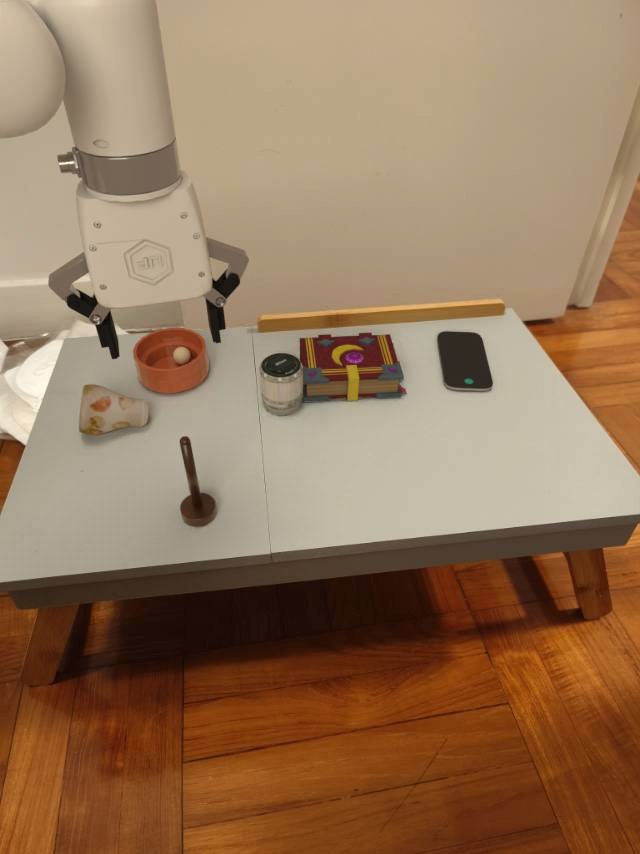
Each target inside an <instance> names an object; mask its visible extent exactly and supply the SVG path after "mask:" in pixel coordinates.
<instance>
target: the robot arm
mask: <svg viewBox="0 0 640 854" xmlns="http://www.w3.org/2000/svg"><path fill="white" fill-rule="evenodd" d="M163 46H164V45H163V39H162V32H161V25H160V19H159V10H158V6H157V1H156V0H0V139H10V138H16V137H17V138H18V137H23V136H26V135H28V134H32V133H34V132H36V131H38V130H40V129H42V127H44V126H46V125H47V124H48V123H49V122H50V121H51V120H52V119H53V118H54V117H55V116H56V114H57V112H58V110H59V108H60V107H61V105H62V103H63V104H64V110H65V113H66V117H67V121H68V125H69V130H70V132H71V136H72V140H73V144H74V146H72V147H71V151H67V152H66V153H61V154H57V155H56V158H57V163H58V167H59V170H60V173H61V174H68V173H69V174H70V173H71V174H72V175H77V178H78V179H81V180H80V181H79V182H78V184H77V186H76V190H75V200H76V212H77V220H78V228H79V233H80V238H81V242H82V243H81V244H82V247H83V252H81V253H80V254H78V255H77V256H75V257H74V258H72V259H70V260H69V261H67V262H66V263H65V264H63V265H62V266H60V267H58V268H57V269H55V270H54V271H53V272H51V273H50V274H49V275H48V282H47V285H48V287H49V288H50V290H51V291H53V293H55V295H56V296H58V297H59V298H60V299H61V300H62V301H64V302H65V304H66V306H67V307H68V308H69V309H71V310H72V311H74V312H76V313H78V314H80V315H81V316H83V317H85V318H87V319H88V320H89V322H90V323H91V324H92V325H94V326H95V329H96V333H97V336H98V340H99V343H100V346H101V349H106V348H108V351H109V354H110V358H111V360H117V359H119V358H120V357H121V356H120V345H119V344H120V343H119V337H118V333H117V330H116V327H115V322H114V319H113V315H112V312H111V311H112V310H121V309H123V310H124V309H130V308H140V307H146V306H154V305H161V304H167V303H169V304H170V303H174V302H175V303H176V302H181V301H182V302H183V301H189V300H194V299H198V298H201V297H204V299H205V305H206V313H207V320H208V327H209V331H210V335H211V339H212V343H215V344H221V343H222V339H221V331H224V330H227V325H226V318H225V310H224V306H226V304H227V300H228V298H229V297H230V296H231V295H232V294H233V293H234V291H235V290H236V289H237V288H238V287H239V286H240V285H241V279H242V277H243V276H244V274H245V272H246V269H247V267H248V265H249V263H250V258H249V256H248V253H247V251H246V250H245V249H243V248H239V247H238V246H237V247H236V246H234V245H231V244H228V243H224V242H222V241H219V240H216V239H214V238H211V237H207V236H206V235H207V234H206V228H205V225H204V219H203V215H202V210H201V206H200V203H199V200H198V199H199V198H198V196H197V191H196V190H195V187H194V184H193V182H192V179H191V177H190V176H189V174H188V173H187V172H186V171H185V170H183V169H181V163H180V157H179V150H178V145H177V138H176V129H175V122H174V116H173V107H172V101H171V95H170V89H169V81H168V75H167V74H168V73H167V67H166V61H165V53H164V47H163ZM211 259H214V260H217V261H220V262H223V263H226V264H228V266H227V268H226V270H224V271H223V273H222V274H221V275H220V276H219V278H218V279H216V277H214V276H213V273H212V266H211V265H212V264H211ZM87 274H89V279H90V282H91V287H92V290H93V294H92V295H91V296H90V295H89V294H87V293H85V292H84V291H82V290H80V289H79V288H76V287H75V286H74V285H73V283H75V282H77V281H78V280H79V279H81V278H83V277H84V276H86V275H87Z"/></svg>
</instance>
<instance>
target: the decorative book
mask: <svg viewBox="0 0 640 854" xmlns="http://www.w3.org/2000/svg"><path fill="white" fill-rule="evenodd" d="M299 360H300V361H301V363H302V365H303V399H302V402H303V403H307V402H327V401H329V400H337V399H338V400H339V399H346V401H347V402H352V401H359V398H376V399H390V398H402V393H404V394H405V395H407V394H408V393H407V389H406V388H404V387H403V386H401V385H400V383H402V381H404V377H405V375H404V372H403V368H402V366H401V362H400V360H398V357H397V353H396V350H395V347H394V343H393V339H392V335H391V334H388V333H387V334H373V333H372V332H359V333H358V335H343V336H332V334H331V333H330V334H329V333H328V334H327V333H326V334H318V335H317V337H316V336H315V337H299ZM399 382H400V383H399Z"/></svg>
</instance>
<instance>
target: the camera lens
mask: <svg viewBox="0 0 640 854" xmlns="http://www.w3.org/2000/svg"><path fill="white" fill-rule="evenodd" d="M258 370H259V380H260V391H261V392H260V395H261V400H262V404H263V405H264V408H265V410H266V411H268V412H269V413H271V414H273V415H276V416H288V415H292V414H294V413H295V412H298V411H299V409H300V408H301V406H302V402H303V365H302V363H301V361H300V358H298V357H297V356H296V355H293V354H290V353H286V352H277V353H273V354H269V355H268V356H266V357H265V358H263V360H262V361H261V362H260V365H259V368H258Z"/></svg>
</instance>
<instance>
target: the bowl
mask: <svg viewBox="0 0 640 854" xmlns="http://www.w3.org/2000/svg"><path fill="white" fill-rule="evenodd" d="M178 347H185V348H187V349H188V350H189V351H190V354H191V358H190V360H189V361H188V362H187V363H186V364H178V363H176V362H175V360H174V359H173V352H174V350H175V349H176V348H178ZM132 354H133V356H132V357H133V360H134V365H135V369H136V372H137V376H138V380H139V381H140V383H141V384H142V386H144V387H145V388H146V389H148V390H151V391H153V392H156V393H160V394H175V393H180V392H181V393H182V392H185V391H187V390H190V389H194V388H195V387H197V386H198V385H199V384H201V383H202V382H203V381H204V380H205V379H206V377H208V374H209V371H210V364H209V363H210V362H209V356H208V349H207V344H206V341H205V338H204V337H203V336H202V335H201V334H200V333H199V332H196V331H194V330H192V329H188V328H184V327H167V328H161V329H157V330H154V331H151V332H149V333H148V334H146V335H144V336H142V337H141V338H140V339H139V340H138V341H137V342H135V345H134V347H133V349H132Z"/></svg>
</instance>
